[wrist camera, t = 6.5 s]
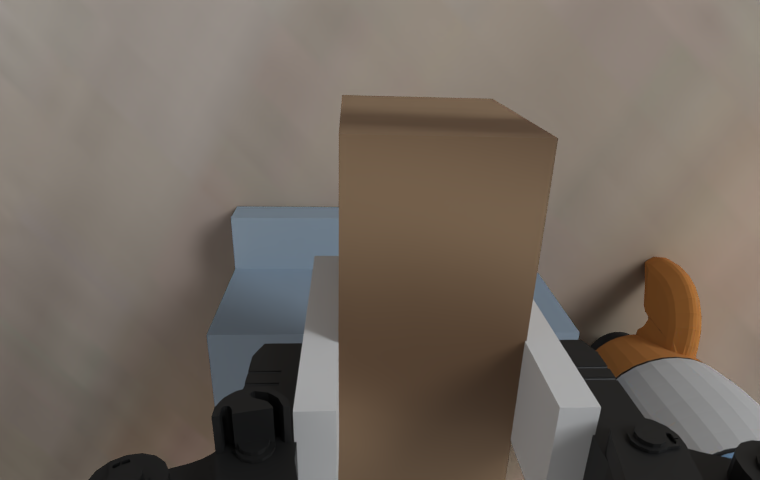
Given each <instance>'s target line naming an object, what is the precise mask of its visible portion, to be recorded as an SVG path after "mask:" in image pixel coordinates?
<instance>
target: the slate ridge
mask: <svg viewBox="0 0 760 480" xmlns="http://www.w3.org/2000/svg"><path fill="white" fill-rule="evenodd" d="M231 225H232V236H233V248H234V259H235V271H234V273H233V275H232V278H231V280H230V282H229V285H228V287H227V289H226V292H225V294H224V296H223V298H222V301H221V303H220V305H219V308H218V310H217V312H216V315H215V317H214V319H213V321H212V324H211V326H210V328H209V331H208V333H207V343H208V351H209V360H210V369H211V377H212V386H213V394H214V403H215V406H216V405H217V404H218V403H219V402H220V401H221V400H222V399H223V398H224V397H226V396H228V395H229V394H231V393H233V392H235V391H238V390H242V389H243V388H244V386H245V381H246V377H247V374H248V370H249V366H250V363H251V359H252V356H253V355H254V354H255V353H256V352H257V351H258V350H259V349H260V348H261V347H262V346H263V345H264V344H272V343H302V342H303V335H304V328H305V321H306V314H307V307H308V299H309V292H310V285H311V278H312V271H313V264H314V257H315V256H339V207H237V208H236V210H235V212H234V213H233V215H232V217H231ZM533 300H534V301H535V303H536V304H537V306H538V308H539V309H540V311H541V312H542V314H543V316H544V317H545V319H546V320H547V322H548V323H549V325H550V327H551V328H552V330H553V331H554V333H555V335H556V336H557V338H558V339H559V340H578V338H579V333H580V332H579V331H578V330H577V328H576V327H575V325H574V324H573V322H572V321H571V320H570V318H569V317H568V315H567V314H566V312H565V311H564V310H563V308H562V307H561V305H560V304H559V302H558V301H557V300H556V298H555V297H554V295H553V294H552V292H551V291H550V290H549V288H548V287H547V285H546V284H545V282H544V281H543V280H542V278H541V277H540V275H539V274H538V272H537V277H536V284H535V290H534V296H533Z"/></svg>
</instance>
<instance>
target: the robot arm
mask: <svg viewBox="0 0 760 480" xmlns="http://www.w3.org/2000/svg"><path fill="white" fill-rule="evenodd" d="M338 317H339V256H315V257H314V264H313V271H312V278H311V285H310V292H309V299H308V307H307V314H306V321H305V328H304V335H303V342H302V343H272V344H264V345H263V346H262V347H261V348H260V349H259V350H258V351H257V352H256V353H255V354H254V355H253V356H252V359H251V363H250V366H249V370H248V374H247V377H246V381H245V386H244V388H243V389H242V390H238V391H235V392H233V393H231V394H229V395H228V396H226V397H224V398H223V399H222V400H221V401H220V402H219V403H218V404H217V405H216V406H215V408H214V411H213V414H212V424H213V433H214V441H215V450H216V451H215V452H214V453H213V454H211V455H209V456H207V457H205V458H203V459H201V460H198V461H195V462H193V463H189V464H186V465H182V466H178V467H174V468H171V469H168V468H167V466H166V463H165V462H164V461H163V460H161V459H160V458H158V457H157V456H155V455H149V454H143V453H141V454H133V455H126V456H123V457H121V458H118V459H115V460H113V461H110V462H109V463H107V464H106V465H104V466H103V467H101V468H100V469H98V470H97V471H96V472H95V473H94V474H93V475H92V476H91V478H90V479H89V480H338V467H339V343H338ZM511 443H512V446H513V449H514V451H515V454H516V457H517V460H518V462H519V465H520V468H521V470H522V473H523V476H524V478H525V480H760V441H755V440H750V441H746V442H742V443H740V444H739V445H738V447H737V448H736V449H735V451H734V454H733V457H732V458H727V457H722V456H718V455H713V454H708V453H704V452H699V451H695V450H692V449H688V448H687V446H686V444H685V443H684V442H683V440H682V439H681V438H680V436H679V435H678V434H676V433H675V432H674V431H672V430H671V429H670V428H668V427H667V426H665V425H663V424H661V423H659V422H656V421H654V420H651V419H647V418H645V417H644V416H643V415H642V413H641V412H640V410H639V409H638V408H637V406H636V405H635V403H634V402H633V401H632V399H631V398H630V396H629V395H628V394H627V392H626V391H625V390H624V388H623V387H622V385H621V384H620V383H619V381H618V380H616V377H615V376H614V374H613V373H612V371H611V370H610V369H608V368H607V365H606V363H605V362H604V360H603V359H602V358H601V356H600V355H599V353H598V352H597V351H596V350H594V349H593V348H591V347H590V346H588V345H587V344H586V343H584V342H583V341H581V340H559V339H558V338H557V336H556V335H555V333H554V331H553V330H552V328H551V327H550V325H549V323H548V322H547V320H546V319H545V317H544V316H543V314H542V312H541V311H540V309H539V308H538V306H537V304H536V303H535V301H534V300H533V303H532V309H531V316H530V322H529V329H528V335H527V341H525V345H524V352H523V359H522V365H521V372H520V379H519V386H518V393H517V400H516V407H515V413H514V420H513V427H512V434H511Z"/></svg>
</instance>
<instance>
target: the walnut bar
mask: <svg viewBox="0 0 760 480" xmlns="http://www.w3.org/2000/svg"><path fill="white" fill-rule="evenodd" d="M557 142H558V138H557V137H555V136H553V135H552V134H550V133H548V132H547V131H545V130H543V129H542V128H540V127H538V126H537V125H535V124H533V123H532V122H530V121H528V120H527V119H525V118H523V117H522V116H520V115H518V114H517V113H515V112H513V111H512V110H510V109H508V108H507V107H505V106H503V105H502V104H500V103H498V102H497V101H495V100H493V99H477V98H436V97H395V96H354V95H342V104H341V116H340V128H339V317H338V343H339V467H338V480H505V477H506V471H507V464H508V458H509V451H510V445H511V434H512V427H513V420H514V413H515V407H516V400H517V393H518V386H519V379H520V372H521V365H522V359H523V352H524V345H525V341H527V335H528V329H529V322H530V316H531V309H532V303H533V296H534V290H535V284H536V277H537V271H538V264H539V258H540V251H541V245H542V238H543V232H544V225H545V219H546V213H547V206H548V200H549V193H550V187H551V180H552V174H553V167H554V161H555V154H556V148H557Z"/></svg>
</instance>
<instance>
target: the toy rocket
mask: <svg viewBox="0 0 760 480" xmlns="http://www.w3.org/2000/svg"><path fill="white" fill-rule="evenodd" d="M644 308H645V312H646V313H647V315H648V321H647V322H646V324H645V325H644V326H643V327H642V328H640V329H638V330H637V333H636V335H630V334H627V333H623V332H614V333H609V334H606V335H604V336H602V337H600V338H599V339H597V340H596V341H595V342H594V343H593V344H592V345H591V348H593V349H594V350H596V351H597V352H598V353H599V355H600V356H601V358H602V359H603V360H604V362H605V363H606V365H607V368H608V369H610V370H611V371H612V373H613V374H614V376H615V377H616V380H618V381H619V383H620V384H621V385H622V387H623V388H624V390H625V391H626V392H627V394H628V395H629V396H630V398H631V399H632V401H633V402H634V403H635V405H636V406H637V408H638V409H639V410H640V412H641V413H642V415H643V416H644V417H645V418H647V419H651V420H654V421H656V422H659V423H661V424H663V425H665V426H667V427H668V428H670V429H671V430H672V431H674V432H675V433H676V434H678V435H679V436H680V438H681V439H682V440H683V442H684V443H685V444H686V446H687V448H688V449H692V450H695V451H699V452H704V453H708V454H713V455H718V456H722V457H727V458H732V457H733V454H734V451H735V449H736V448H737V447H738V445H739V444H740V443H742V442H746V441H750V440H755V441H760V405H759V404H758V403H757V402H756V401H755V400H753V399H752V398H751V397H750V396H749V395H748V394H747V393H746V392H745V391H743V390H742V389H741V388H739V387H738V386H737V385H736V384H735V383H733V382H732V381H731V380H730V379H727V378H726V377H724V376H723V375H721V374H720V373H719V372H717V371H716V370H715V369H713V368H711V367H710V366H708V365H706V364H705V363H703V362H701V361H700V360H698V359H696V354H697V350H698V345H699V339H700V334H701V308H700V300H699V297H698V294H697V291H696V287H695V285H694V284H693V282H692V280H691V278H690V277H689V275H688V274H687V273H686V272H685V271H684V270H683V269H682V268H681V267H680V266H679V265H677V264H675V263H674V262H672V261H670V260H669V259H667V258H661V257H653V258H651V259H649V260H647V261H646V262H645V294H644Z"/></svg>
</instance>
